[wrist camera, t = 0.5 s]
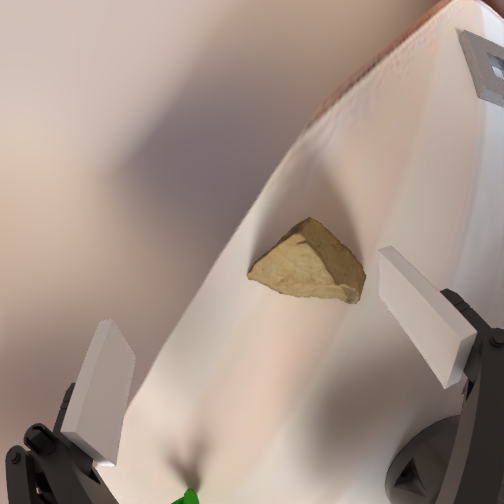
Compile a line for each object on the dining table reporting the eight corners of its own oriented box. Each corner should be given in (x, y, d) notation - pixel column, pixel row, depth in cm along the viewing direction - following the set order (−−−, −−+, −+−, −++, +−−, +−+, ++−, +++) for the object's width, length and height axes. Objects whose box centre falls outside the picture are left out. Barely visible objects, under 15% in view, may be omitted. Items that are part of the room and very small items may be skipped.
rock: (397, 270, 27) (329, 190, 27) (391, 326, 21) (301, 222, 20) (317, 319, 34) (257, 253, 34) (291, 373, 27) (215, 296, 27)
